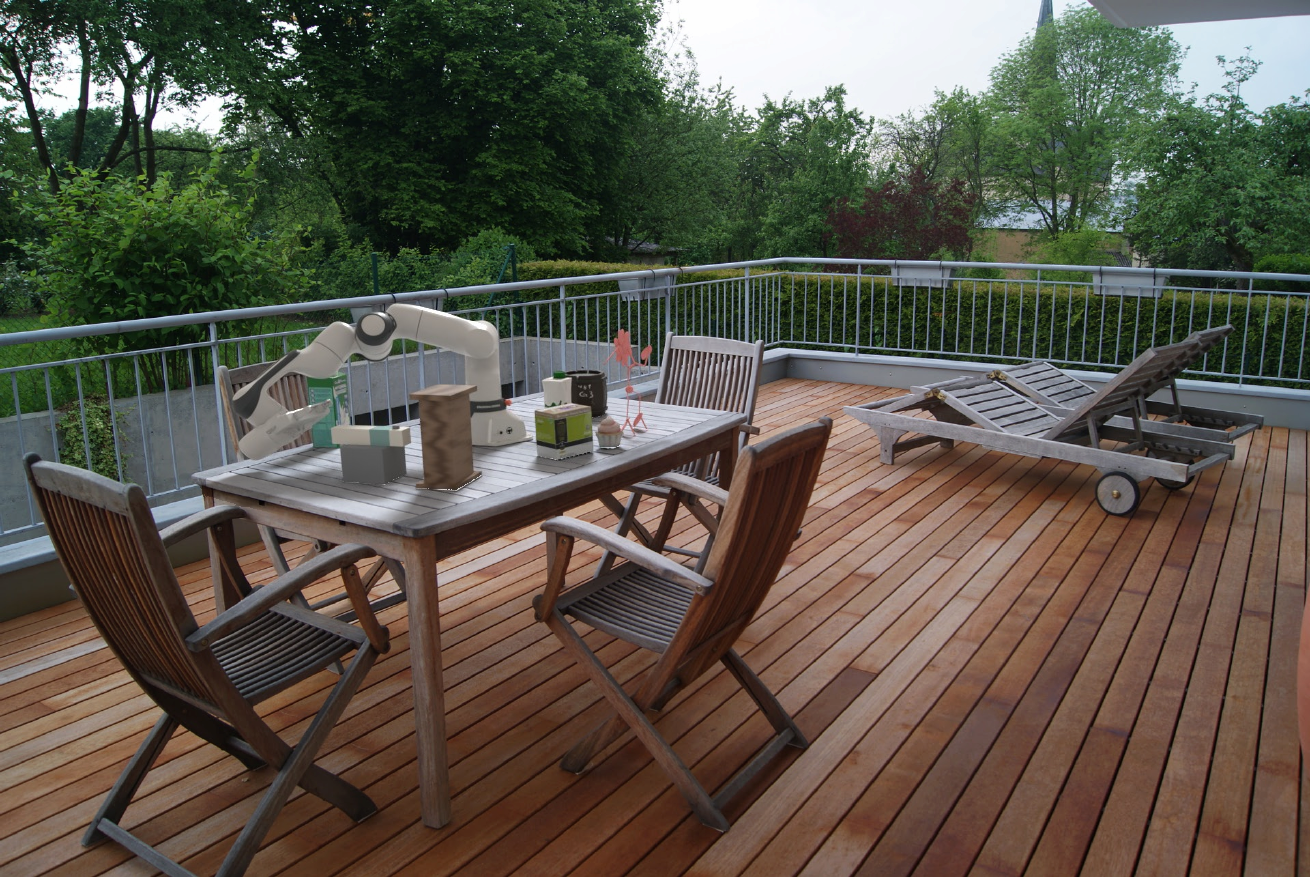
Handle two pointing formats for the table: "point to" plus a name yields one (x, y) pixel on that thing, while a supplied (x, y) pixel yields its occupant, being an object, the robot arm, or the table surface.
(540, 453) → the tea box
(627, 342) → the pink stick figure
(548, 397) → the soya milk
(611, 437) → the cupcake
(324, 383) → the milk carton
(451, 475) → the stand
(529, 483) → the table surface
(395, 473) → the podium
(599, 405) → the dark brown pot
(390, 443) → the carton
